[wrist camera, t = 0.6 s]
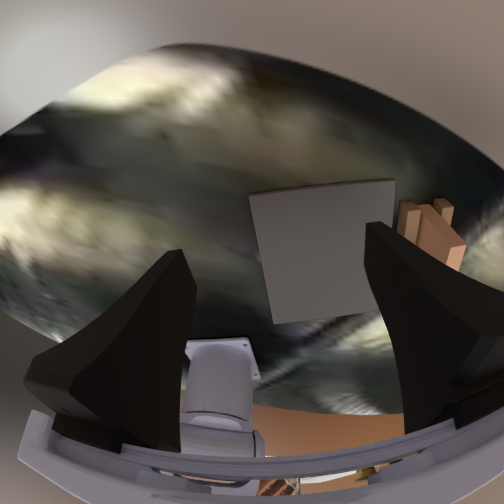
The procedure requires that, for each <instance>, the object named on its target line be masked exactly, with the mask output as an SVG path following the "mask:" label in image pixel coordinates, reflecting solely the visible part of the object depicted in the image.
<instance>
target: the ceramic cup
mask: <svg viewBox="0 0 504 504" xmlns="http://www.w3.org/2000/svg"><path fill="white" fill-rule="evenodd" d="M375 473H377V472H376V470H375V468H374V466H373V467H368V468H364V469H359V470H357V471H356V477H355V482H362V481H367V480H368V479H367V478H368V477H369V476H370V475H373V474H375Z"/></svg>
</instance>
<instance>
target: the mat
mask: <svg viewBox="0 0 504 504" xmlns="http://www.w3.org/2000/svg"><path fill="white" fill-rule="evenodd" d="M248 197H249V202H250V207H251V212H252V217H253V222H254V227H255V232H256V237H257V242H258V247H259V252H260V257H261V262H262V267H263V272H264V277H265V282H266V287H267V292H268V298H269V303H270V308H271V313H272V318H273V323H274V324H281V323H291V322H299V321H307V320H315V319H323V318H330V317H337V316H344V315H350V314H357V313H363V312H369V311H374V310H379V307H378V305H377V303H376V300H375V298H374V295H373V293H372V291H371V288H370V285H369V282H368V279H367V275H366V272H365V268H364V251H365V230H366V223H369V222H377V221H381V222H383V223H384V224H386V225H388V226H389V227H391V228H392V221H393V211H394V198H395V180H394V179H383V180H370V181H358V182H347V183H336V184H327V185H317V186H309V187H300V188H292V189H284V190H276V191H269V192H262V193H255V194H249V196H248Z"/></svg>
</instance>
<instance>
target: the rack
mask: <svg viewBox="0 0 504 504" xmlns="http://www.w3.org/2000/svg"><path fill="white" fill-rule="evenodd" d="M432 207H433V208H434V209H435V210H436V211H437V213H438V214H439V215H440V216H441V217H442V218H443V219H444V220H445V221H446V222H447V223H448V224H449V225H450V224H451V219H452V214H453V209H454V207H453V206H452V205H451V204H450V203H449V202H448V201H447V200H446V199H445V198H437V199H433V206H432ZM420 213H421V209H420V208H419V207H418V206H417V205H416V204H415V203H414V202H413V201H400V204H399V214H398V224H397V232H398V233H399V234H401V235H402V236H403V237H405V238H406V239H408V240H409V241H410V242H412V243H413V244H416V239H417V233H418V227H419V220H420Z"/></svg>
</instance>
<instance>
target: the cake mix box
mask: <svg viewBox="0 0 504 504" xmlns="http://www.w3.org/2000/svg"><path fill="white" fill-rule="evenodd" d="M284 495H300V478H293V479H275V480H260V483H259V490H258V491H257V494H256V495H255V496H284Z"/></svg>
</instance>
